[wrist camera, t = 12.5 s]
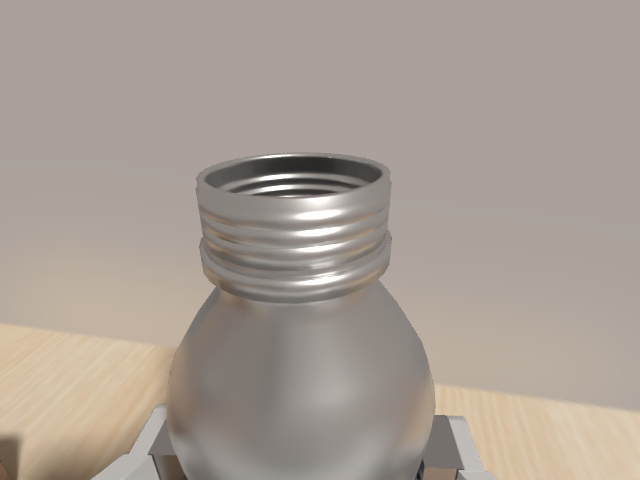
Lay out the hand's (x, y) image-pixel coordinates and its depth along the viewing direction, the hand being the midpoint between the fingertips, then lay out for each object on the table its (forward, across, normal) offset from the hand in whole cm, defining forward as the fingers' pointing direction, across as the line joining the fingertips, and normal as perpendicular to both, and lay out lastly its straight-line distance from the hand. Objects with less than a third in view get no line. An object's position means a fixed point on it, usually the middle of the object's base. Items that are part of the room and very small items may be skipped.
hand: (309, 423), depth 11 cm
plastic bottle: (-1, 0, -12) cm, 12 cm away
